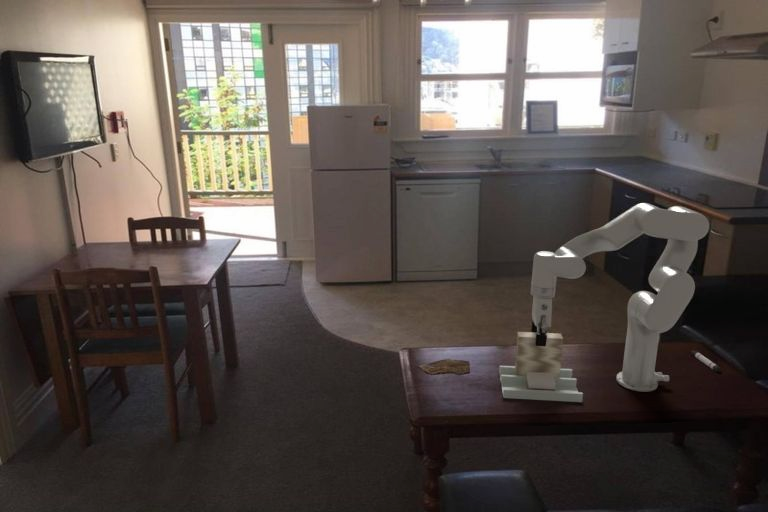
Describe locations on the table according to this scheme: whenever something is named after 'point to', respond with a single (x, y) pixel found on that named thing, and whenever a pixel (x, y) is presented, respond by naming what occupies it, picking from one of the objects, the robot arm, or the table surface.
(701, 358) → the marker
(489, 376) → the table surface
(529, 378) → the grey offcut
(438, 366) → the brown ridged slab
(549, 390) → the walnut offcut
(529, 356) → the birch sheet
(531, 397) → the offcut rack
